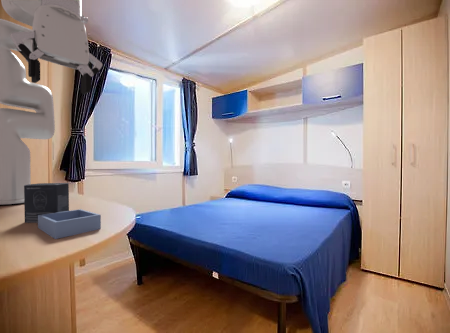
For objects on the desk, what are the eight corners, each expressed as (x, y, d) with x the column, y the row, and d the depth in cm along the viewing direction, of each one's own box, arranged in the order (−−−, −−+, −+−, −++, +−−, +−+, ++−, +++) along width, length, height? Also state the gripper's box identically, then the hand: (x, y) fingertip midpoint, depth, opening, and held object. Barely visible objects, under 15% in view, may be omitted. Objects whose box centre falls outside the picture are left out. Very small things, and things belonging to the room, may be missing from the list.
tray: (38, 229, 55) (37, 215, 55) (80, 222, 62) (80, 209, 62) (55, 239, 48) (55, 222, 48) (100, 229, 56) (100, 214, 56)
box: (69, 220, 64) (69, 182, 64) (56, 225, 59) (56, 184, 59) (39, 221, 64) (39, 182, 64) (23, 226, 58) (23, 184, 58)
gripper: (94, 34, 61) (94, 99, 61) (5, -4, 47) (6, 80, 48) (108, 24, 57) (109, 94, 57) (15, -21, 43) (16, 71, 43)
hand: (62, 87), depth 52 cm, fingers open, 9 cm apart
